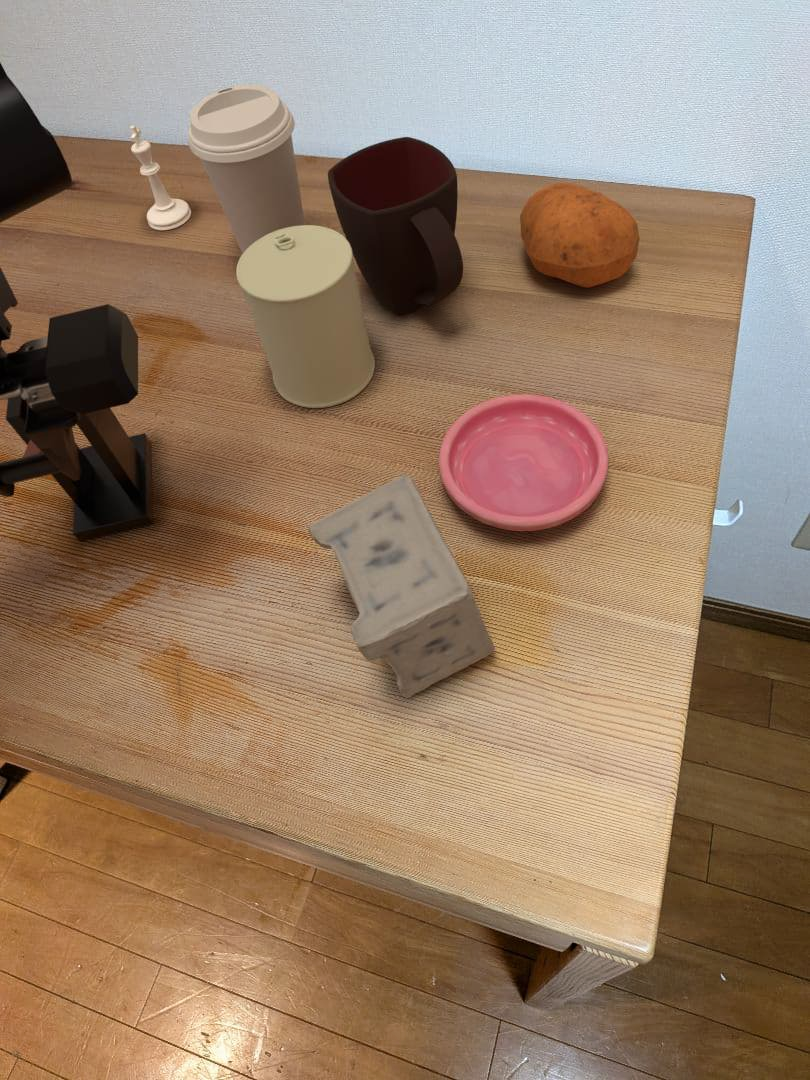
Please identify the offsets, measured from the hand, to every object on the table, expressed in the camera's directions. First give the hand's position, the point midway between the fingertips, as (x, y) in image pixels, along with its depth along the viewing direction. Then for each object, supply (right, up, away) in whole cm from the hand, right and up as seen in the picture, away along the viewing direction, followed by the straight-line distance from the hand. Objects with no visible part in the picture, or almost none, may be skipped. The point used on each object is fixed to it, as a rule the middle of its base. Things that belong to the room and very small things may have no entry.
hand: (45, 483), depth 48 cm
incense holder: (+24, -10, +3) cm, 26 cm away
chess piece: (-3, +32, +35) cm, 48 cm away
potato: (+39, +22, +22) cm, 50 cm away
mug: (+25, +19, +22) cm, 38 cm away
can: (+16, +11, +18) cm, 27 cm away
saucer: (+33, +1, +9) cm, 34 cm away
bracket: (0, 0, +13) cm, 13 cm away
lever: (-1, +3, +3) cm, 4 cm away
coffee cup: (+10, +25, +28) cm, 39 cm away
